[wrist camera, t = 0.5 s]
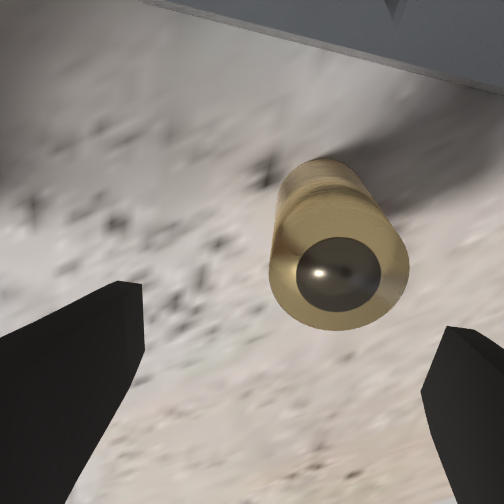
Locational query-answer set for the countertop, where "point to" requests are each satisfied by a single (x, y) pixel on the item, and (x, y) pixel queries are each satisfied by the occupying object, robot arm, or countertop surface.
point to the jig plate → (380, 31)
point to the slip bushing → (334, 250)
